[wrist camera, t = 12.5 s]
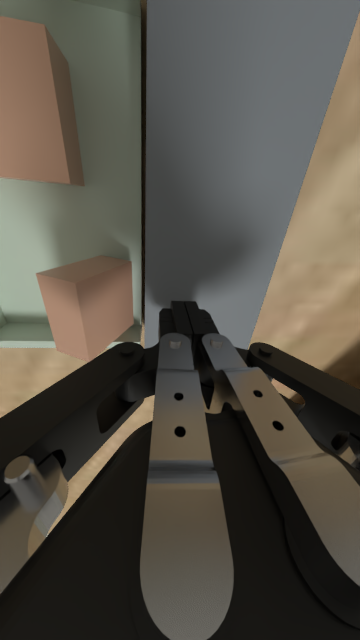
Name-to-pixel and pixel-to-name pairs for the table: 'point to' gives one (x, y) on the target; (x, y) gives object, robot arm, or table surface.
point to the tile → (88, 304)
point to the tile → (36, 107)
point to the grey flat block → (231, 144)
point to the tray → (97, 163)
